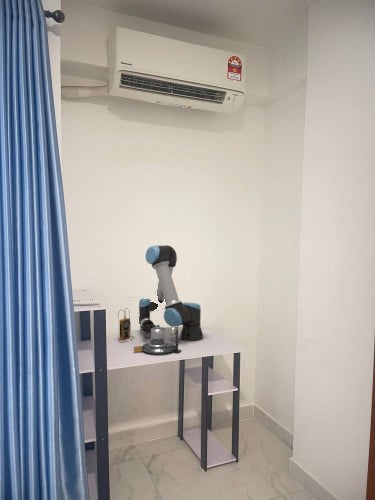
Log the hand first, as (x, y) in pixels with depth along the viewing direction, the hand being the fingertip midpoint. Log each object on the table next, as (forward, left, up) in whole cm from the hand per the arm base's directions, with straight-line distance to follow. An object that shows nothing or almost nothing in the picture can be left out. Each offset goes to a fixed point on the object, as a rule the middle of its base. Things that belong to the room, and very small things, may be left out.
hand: (155, 333), depth 221 cm
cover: (0, +4, -6) cm, 7 cm away
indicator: (-8, +13, -8) cm, 17 cm away
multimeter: (+13, -19, -8) cm, 25 cm away
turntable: (+2, +7, -7) cm, 10 cm away
